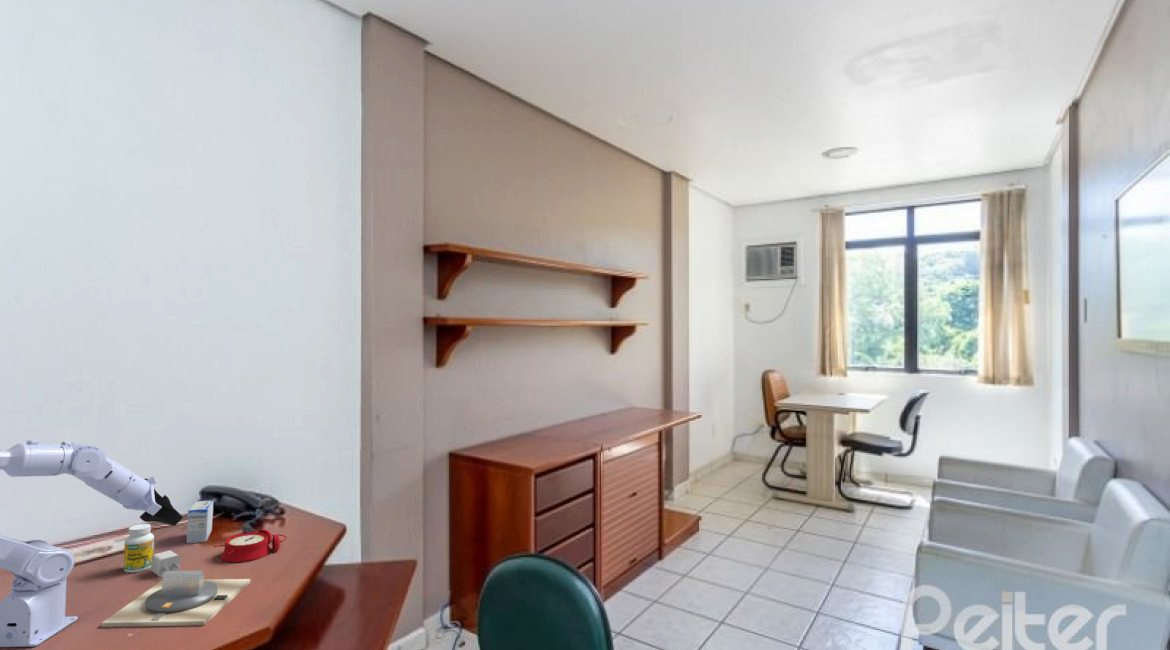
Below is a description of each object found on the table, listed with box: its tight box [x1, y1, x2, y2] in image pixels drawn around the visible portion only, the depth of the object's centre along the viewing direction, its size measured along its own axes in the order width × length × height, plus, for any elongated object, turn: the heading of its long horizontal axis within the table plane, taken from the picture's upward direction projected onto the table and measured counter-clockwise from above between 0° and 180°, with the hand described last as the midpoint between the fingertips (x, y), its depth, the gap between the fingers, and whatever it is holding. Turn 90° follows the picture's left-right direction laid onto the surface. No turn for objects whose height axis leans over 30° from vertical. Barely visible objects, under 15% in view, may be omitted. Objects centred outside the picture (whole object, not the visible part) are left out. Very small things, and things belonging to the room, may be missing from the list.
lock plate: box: [100, 578, 251, 628], centre depth 115 cm, size 18×18×1 cm
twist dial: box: [145, 570, 218, 613], centre depth 115 cm, size 12×12×5 cm
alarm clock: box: [213, 529, 287, 563], centre depth 141 cm, size 10×6×15 cm
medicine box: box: [186, 500, 214, 545], centre depth 149 cm, size 8×4×9 cm, turn 25°
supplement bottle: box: [123, 523, 155, 574], centre depth 130 cm, size 5×5×10 cm
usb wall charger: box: [150, 550, 181, 578], centre depth 128 cm, size 4×7×4 cm, turn 55°
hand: (171, 514), depth 123 cm, fingers open, 7 cm apart
